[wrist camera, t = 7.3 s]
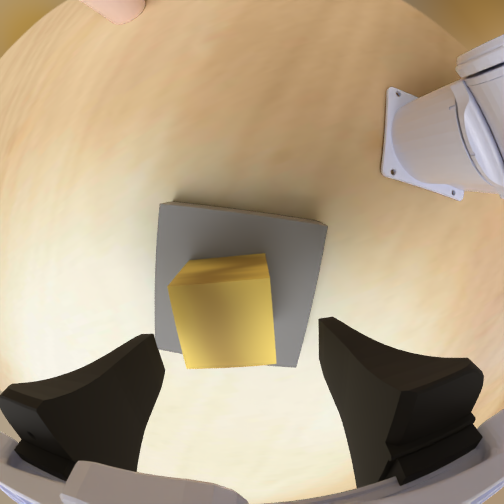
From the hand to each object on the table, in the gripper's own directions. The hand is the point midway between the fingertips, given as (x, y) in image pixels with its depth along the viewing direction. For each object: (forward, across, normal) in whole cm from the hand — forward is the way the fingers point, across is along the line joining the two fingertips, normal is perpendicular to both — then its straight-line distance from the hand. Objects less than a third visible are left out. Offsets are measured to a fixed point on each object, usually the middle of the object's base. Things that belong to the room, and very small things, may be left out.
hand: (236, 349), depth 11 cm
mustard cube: (+7, +1, 0) cm, 7 cm away
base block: (+11, +1, 0) cm, 11 cm away
